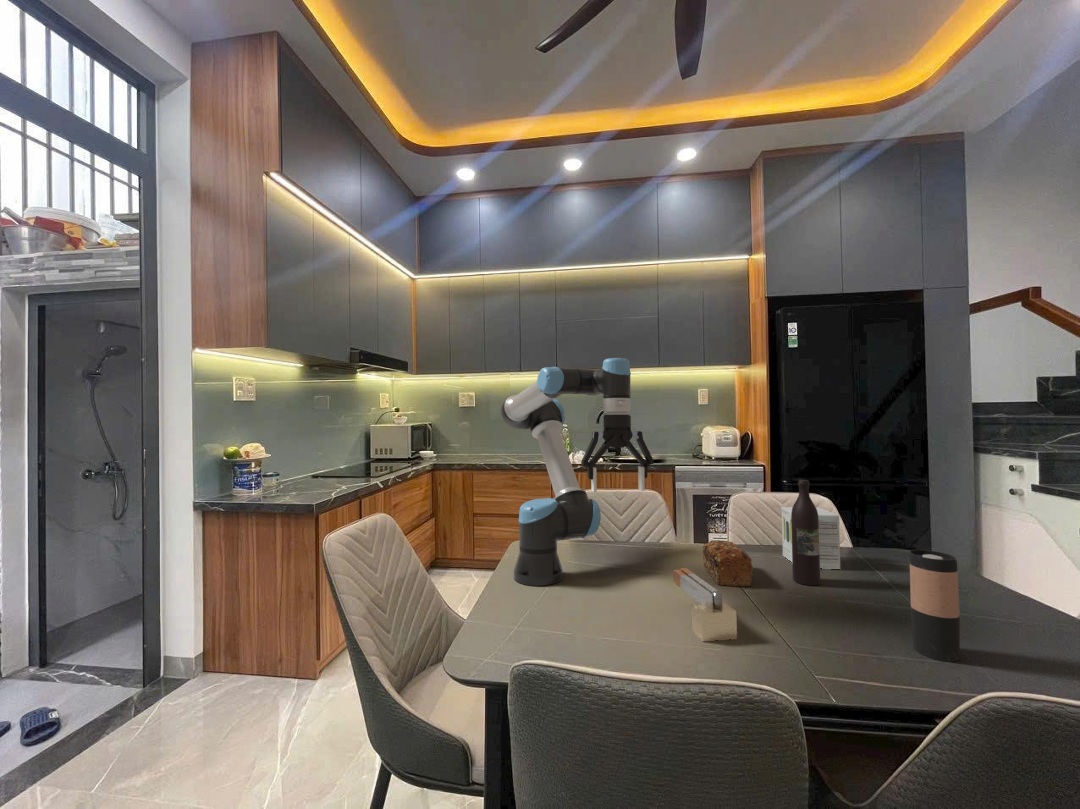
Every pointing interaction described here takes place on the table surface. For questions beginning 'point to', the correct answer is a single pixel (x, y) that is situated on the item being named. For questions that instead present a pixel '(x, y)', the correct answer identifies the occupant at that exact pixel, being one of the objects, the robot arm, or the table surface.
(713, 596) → the tong arm
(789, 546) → the supplement box
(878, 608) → the table surface
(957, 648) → the travel mug
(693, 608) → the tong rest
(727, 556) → the bread
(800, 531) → the wine bottle
